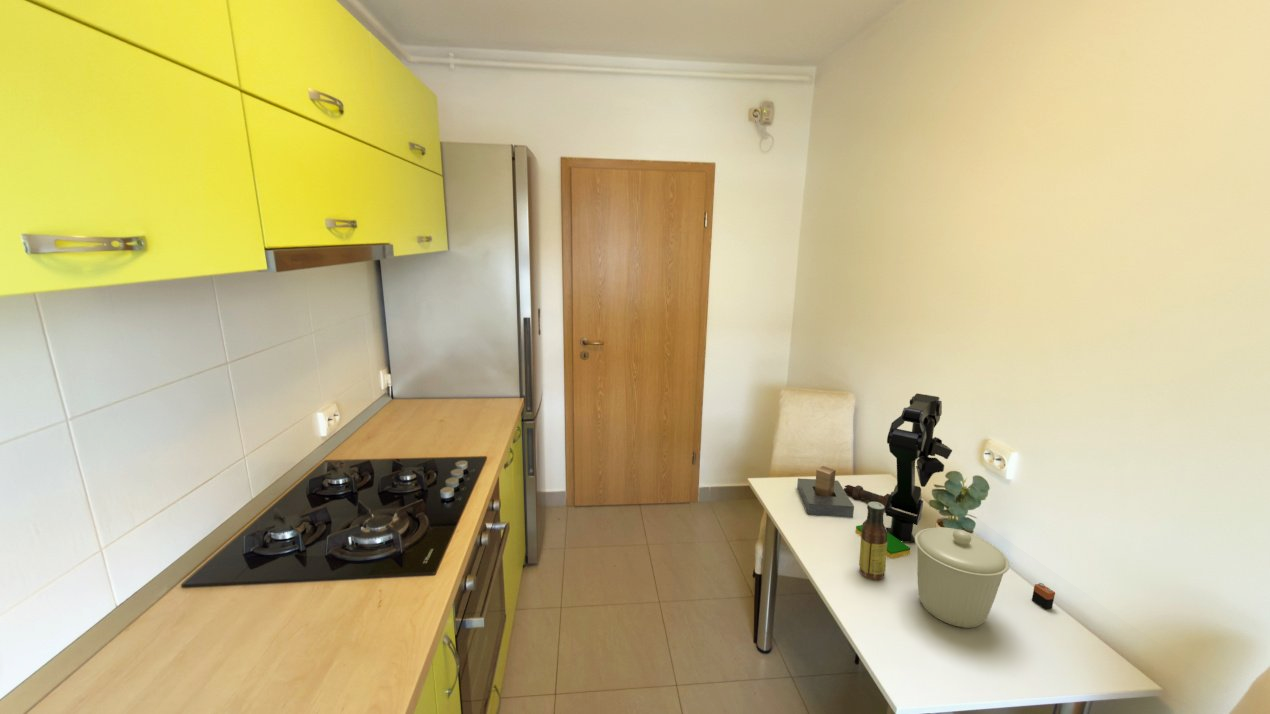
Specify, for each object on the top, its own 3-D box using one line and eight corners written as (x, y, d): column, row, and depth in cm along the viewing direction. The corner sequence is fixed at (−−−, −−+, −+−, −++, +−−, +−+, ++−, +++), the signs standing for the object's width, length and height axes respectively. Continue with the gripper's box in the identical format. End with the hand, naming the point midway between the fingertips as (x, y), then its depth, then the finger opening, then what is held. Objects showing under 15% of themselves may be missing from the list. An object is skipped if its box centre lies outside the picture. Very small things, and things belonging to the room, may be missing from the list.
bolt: (845, 497, 169) (889, 513, 157) (840, 494, 166) (884, 510, 154) (850, 481, 170) (894, 496, 158) (845, 479, 167) (889, 493, 155)
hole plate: (853, 517, 152) (854, 506, 151) (808, 514, 154) (809, 503, 153) (837, 490, 170) (838, 480, 169) (797, 488, 171) (797, 478, 171)
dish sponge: (873, 529, 147) (874, 522, 146) (910, 555, 134) (911, 548, 133) (854, 532, 145) (855, 525, 144) (890, 560, 132) (890, 552, 131)
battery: (1038, 599, 116) (1041, 581, 115) (1052, 608, 113) (1056, 590, 112) (1030, 600, 115) (1034, 582, 114) (1045, 610, 112) (1048, 592, 111)
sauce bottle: (887, 572, 126) (895, 505, 122) (880, 584, 121) (888, 514, 117) (861, 562, 130) (868, 496, 126) (853, 573, 126) (861, 505, 121)
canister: (1003, 610, 112) (1018, 531, 108) (990, 655, 100) (1006, 567, 95) (918, 575, 125) (928, 502, 120) (897, 611, 112) (907, 531, 108)
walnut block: (826, 506, 159) (829, 474, 156) (813, 501, 162) (816, 469, 160) (832, 502, 162) (835, 470, 159) (820, 497, 165) (823, 465, 163)
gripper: (966, 446, 137) (959, 495, 140) (935, 424, 155) (929, 468, 158) (925, 444, 138) (919, 493, 141) (899, 422, 156) (894, 466, 159)
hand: (916, 479), depth 150 cm, fingers open, 9 cm apart
